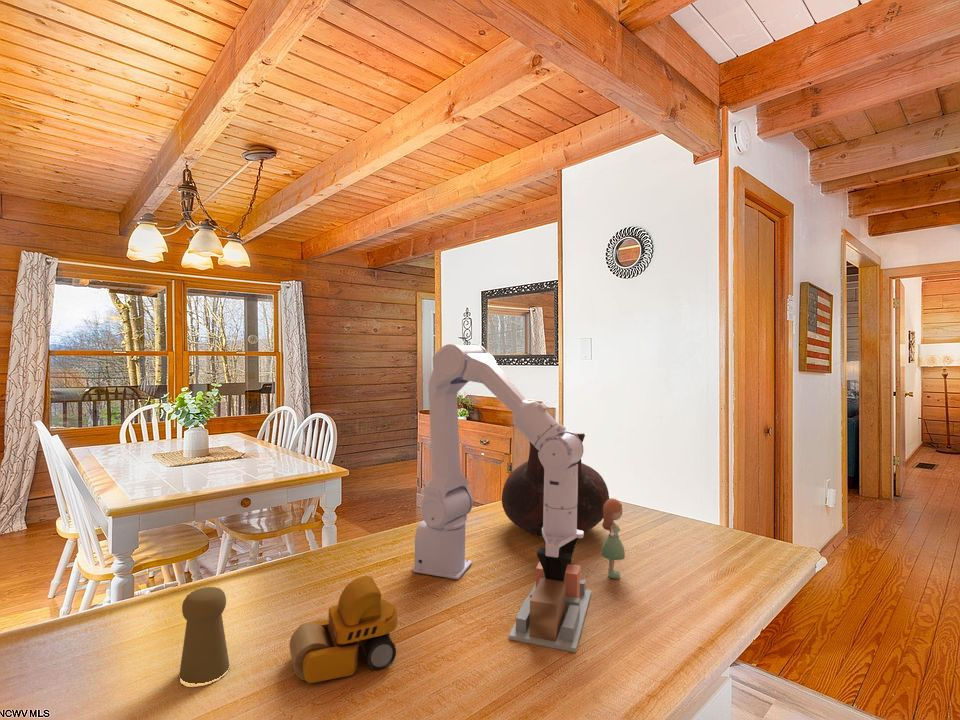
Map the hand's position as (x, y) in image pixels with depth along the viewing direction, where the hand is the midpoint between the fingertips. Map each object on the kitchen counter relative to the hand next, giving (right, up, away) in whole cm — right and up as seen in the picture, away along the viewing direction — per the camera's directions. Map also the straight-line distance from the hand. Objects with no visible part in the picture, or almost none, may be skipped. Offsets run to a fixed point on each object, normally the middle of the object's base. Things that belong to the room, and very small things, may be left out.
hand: (558, 582), depth 91 cm
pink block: (0, -3, 0) cm, 3 cm away
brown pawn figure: (-50, -4, -20) cm, 54 cm away
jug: (+4, -3, +34) cm, 35 cm away
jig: (-1, -4, -4) cm, 6 cm away
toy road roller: (-32, -4, -17) cm, 37 cm away
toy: (+12, -3, +11) cm, 16 cm away
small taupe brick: (-3, -3, -9) cm, 10 cm away
